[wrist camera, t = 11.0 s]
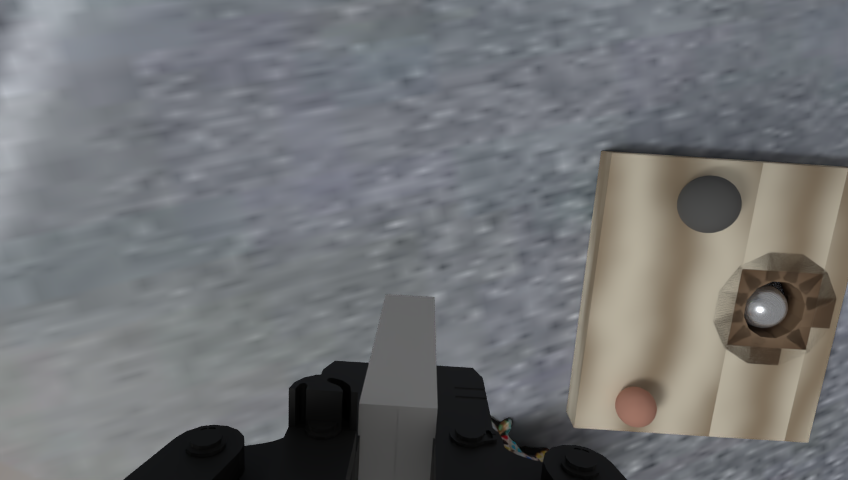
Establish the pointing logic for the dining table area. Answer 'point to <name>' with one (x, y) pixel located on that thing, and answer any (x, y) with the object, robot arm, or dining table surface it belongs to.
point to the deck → (709, 298)
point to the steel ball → (765, 307)
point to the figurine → (524, 451)
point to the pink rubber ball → (635, 407)
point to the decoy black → (709, 204)
